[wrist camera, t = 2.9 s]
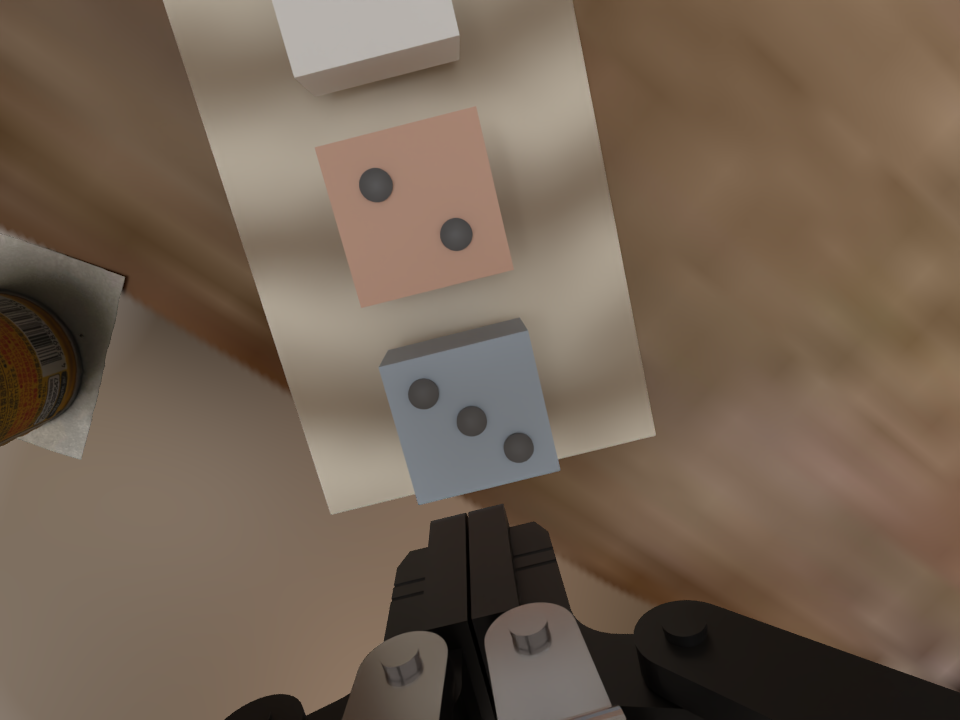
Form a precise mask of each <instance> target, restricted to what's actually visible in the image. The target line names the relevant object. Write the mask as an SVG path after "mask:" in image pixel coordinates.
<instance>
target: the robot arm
mask: <svg viewBox="0 0 960 720" xmlns="http://www.w3.org/2000/svg"><path fill="white" fill-rule="evenodd" d="M468 516H469V517H468ZM468 516H467V514H466V513H463V514H459V515H455V516H451V517H447V518H442V519H438V520H434V521H431V523H430V534H429V544H428V547H426V548H423V549H418V550H414V551H410V552H409V554H408V555H407V556H406V557H405V559H404V560H403V561H402V563H401V564H400V565H399V566H398V568H397V572H396V577H395V583H394V586H395V588H393V594H392V602H391V605H390V610H389V616H388V621H387V627H386V632H385V637H384V642H383V643H381V644H380V645H379V646H377V647H376V648H374V649H373V650H372V651H371V652H370V653H369V654H368V655H367V656H366V658H365V659H364V660H363V662H362V663H361V665H360V667H359V669H358V671H357V675H356V678H355V681H354V684H353V687H352V690H351V693H350V694H348V695H347V696H345V697H343V698H341V699H339V700H338V701H336V702H333V703H331V704H329V705H327V706H325V707H323V708H321V709H319V710H317V711H315V712H313V713H311V714H309V715H307V716H306V715H305V712H304V709H303V707H302V704H301V702H300V701H299V700H298V699H297V698H295V697H293V696H290V695H285V694H276V695H270V696H266V697H263V698H260V699H257V700H255V701H252V702H250V703H248V704H246V705H245V706H243V707H241V708H240V709H238V710H236V711H235V712H233V713H232V714H231V715H230V716H228V717H227V718H226V719H225V720H960V693H959V692H956V691H954V690H951V689H948V688H945V687H942V686H940V685H937V684H934V683H931V682H928V681H926V680H923V679H920V678H917V677H914V676H912V675H909V674H906V673H903V672H900V671H898V670H895V669H892V668H889V667H886V666H883V665H881V664H878V663H875V662H872V661H869V660H867V659H864V658H861V657H858V656H855V655H853V654H850V653H847V652H844V651H841V650H839V649H836V648H833V647H830V646H827V645H825V644H822V643H819V642H816V641H813V640H811V639H808V638H805V637H802V636H799V635H797V634H794V633H791V632H788V631H785V630H783V629H780V628H777V627H774V626H771V625H768V624H766V623H763V622H760V621H757V620H754V619H752V618H749V617H746V616H743V615H740V614H738V613H735V612H732V611H729V610H726V609H724V608H721V607H718V606H715V605H712V604H709V603H705V602H700V601H691V600H683V601H673V602H668V603H665V604H662V605H659V606H657V607H654V608H653V609H651V610H649V611H648V612H647V613H645V614H644V615H643V616H642V617H641V618H640V619H639V621H638V622H637V624H636V626H635V629H634V634H610V633H604V632H599V631H596V630H593V629H591V628H588V627H586V626H585V625H583V624H581V623H580V622H579V621H578V620H577V619H576V618H575V616H574V615H573V613H572V611H571V609H570V605H569V602H568V598H567V595H566V592H565V588H564V585H563V581H562V578H561V574H560V571H559V567H558V564H557V561H556V557H555V554H554V550H553V547H552V543H551V540H550V537H549V533H548V531H546V530H545V529H544V528H542V527H541V526H540V525H538V524H537V523H536V522H530V523H526V524H522V525H517V526H513V527H509V523H508V519H507V515H506V511H505V508H504V505H503V504H500V505H496V506H492V507H488V508H483V509H479V510H475V511H471V512H469V513H468Z"/></svg>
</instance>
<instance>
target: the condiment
mask: <svg viewBox="0 0 960 720" xmlns="http://www.w3.org/2000/svg"><path fill="white" fill-rule="evenodd" d="M124 279H125V277H123V276H121V275H118V274H115V273H113V272H110V271H106V270H105V269H102V268H100V267H97V266H94V265H91V264H88V263H85V262H83V261H80V260H77V259H74V258H70V257H68V256H66V255H63V254H60V253H57V252H54V251H51V250H49V249H46V248H43V247H40V246H37V245H34V244H31V243H28V242H26V241H25V240H21V239H17V238H14V237H10V236H7V235H3V234H1V233H0V446H3V445H5V444H7V443H9V442H10V441H12V440H14V439H19V440H23V441H26V442H29V443H32V444H34V445H37V446H40V447H43V448H45V449H47V450H51V451H54V452H57V453H60V454H64V455H67V456H70V457H73V458H77V459H81V458H82V454H83V450H84V447H85V443H86V439H87V435H88V432H89V428H90V425H91V420H92V414H93V411H94V408H95V405H96V401H97V397H98V393H99V387H100V384H101V379H102V374H103V370H104V366H105V357H106V352H107V349H108V347H109V344H110V340H111V335H112V331H113V328H114V324H115V320H116V315H117V308H118V302H119V298H120V295H121V292H122V287H123V283H124Z"/></svg>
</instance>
